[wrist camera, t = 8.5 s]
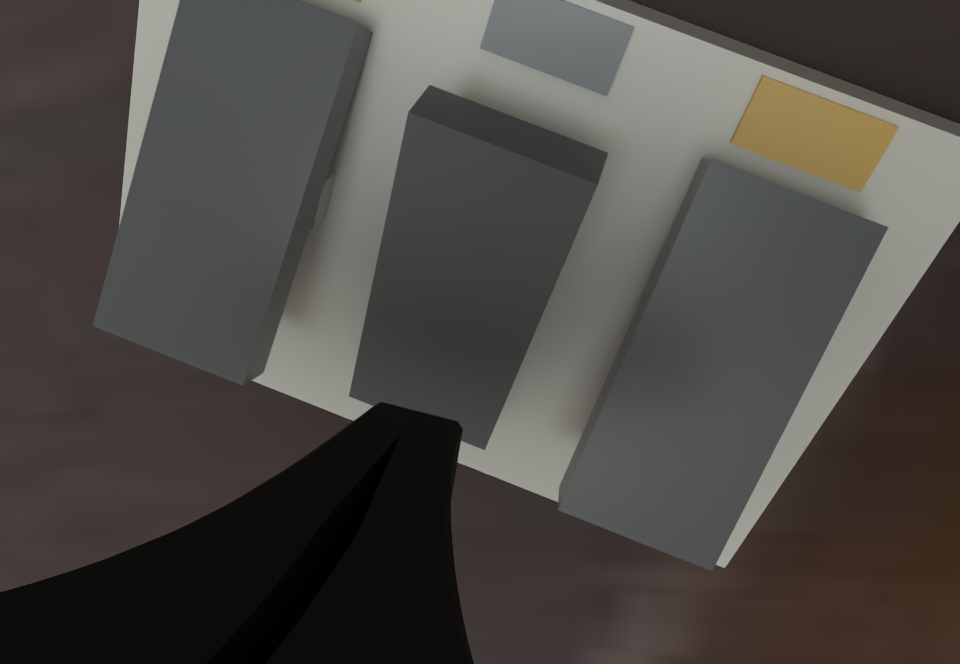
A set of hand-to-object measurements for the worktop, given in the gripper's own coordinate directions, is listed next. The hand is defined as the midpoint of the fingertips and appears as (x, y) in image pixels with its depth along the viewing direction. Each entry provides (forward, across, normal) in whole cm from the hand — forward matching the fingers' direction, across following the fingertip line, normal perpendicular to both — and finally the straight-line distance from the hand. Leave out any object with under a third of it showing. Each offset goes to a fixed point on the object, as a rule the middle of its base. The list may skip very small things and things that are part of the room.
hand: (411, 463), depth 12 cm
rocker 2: (+6, +1, 0) cm, 7 cm away
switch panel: (+10, +1, 0) cm, 10 cm away
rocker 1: (+6, +6, -1) cm, 9 cm away
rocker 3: (+6, -5, 0) cm, 8 cm away
